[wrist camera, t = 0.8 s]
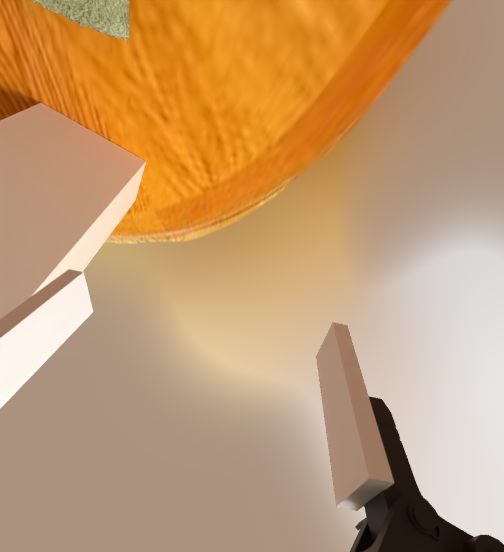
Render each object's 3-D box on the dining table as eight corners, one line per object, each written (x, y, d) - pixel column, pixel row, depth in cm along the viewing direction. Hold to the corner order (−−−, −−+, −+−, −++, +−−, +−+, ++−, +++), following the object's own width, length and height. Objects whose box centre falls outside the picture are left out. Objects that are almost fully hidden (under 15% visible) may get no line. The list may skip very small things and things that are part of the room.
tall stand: (41, 102, 33) (-272, 238, 15) (146, 161, 38) (10, 321, 19) (43, 154, 39) (-183, 302, 20) (135, 200, 43) (20, 354, 25)
